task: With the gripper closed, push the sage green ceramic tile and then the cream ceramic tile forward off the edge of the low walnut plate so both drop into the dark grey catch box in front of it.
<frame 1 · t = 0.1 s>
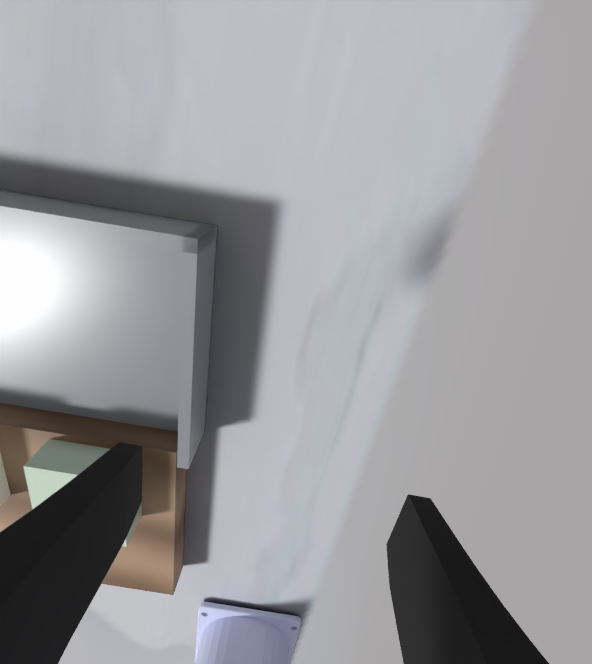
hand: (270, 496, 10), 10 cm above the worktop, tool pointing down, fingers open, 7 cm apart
walnut plate: (58, 484, 25), on the worktop
sage tile: (98, 479, 22), point 2 cm above the worktop, touching walnut plate
catch box: (30, 312, 20), on the worktop
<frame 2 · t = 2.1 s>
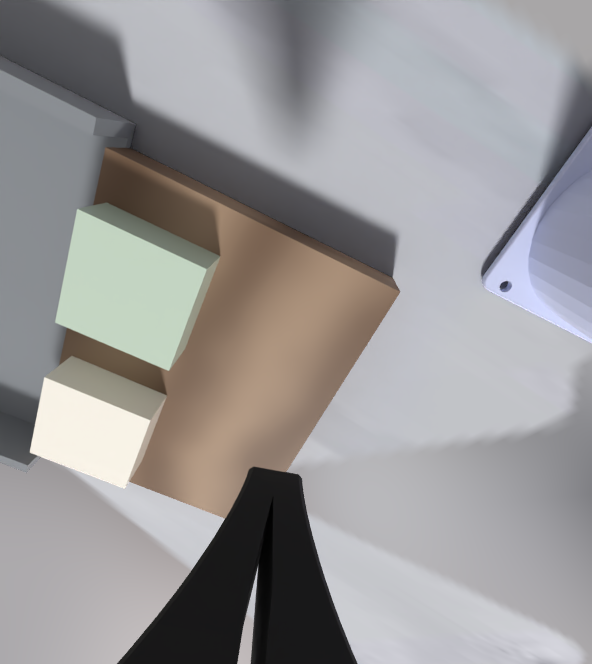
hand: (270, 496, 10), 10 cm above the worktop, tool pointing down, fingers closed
cream tile: (109, 411, 20), point 2 cm above the worktop, touching walnut plate
walnut plate: (206, 361, 21), on the worktop
sage tile: (148, 281, 17), point 2 cm above the worktop, touching walnut plate
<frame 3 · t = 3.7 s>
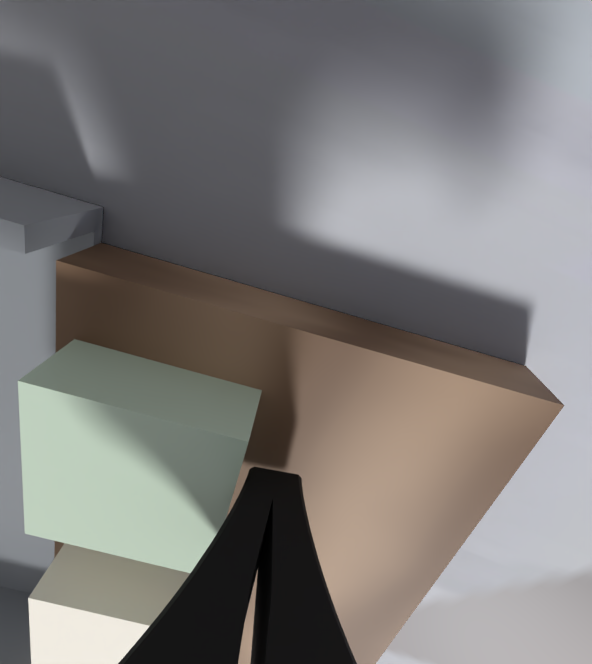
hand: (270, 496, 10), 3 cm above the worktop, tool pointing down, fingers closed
cream tile: (133, 594, 14), point 2 cm above the worktop, touching walnut plate
walnut plate: (255, 502, 15), on the worktop
sage tile: (158, 436, 11), point 2 cm above the worktop, touching gripper
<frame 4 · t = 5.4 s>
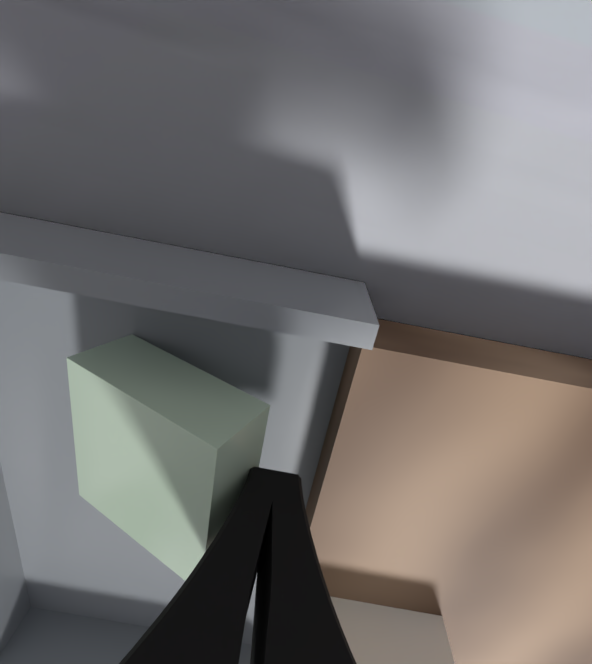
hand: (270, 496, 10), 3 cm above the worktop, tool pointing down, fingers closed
cream tile: (357, 641, 15), point 2 cm above the worktop, touching walnut plate
walnut plate: (465, 542, 15), on the worktop
sage tile: (189, 436, 11), point 2 cm above the worktop, tilted 26°, touching catch box, gripper
catch box: (149, 485, 15), on the worktop
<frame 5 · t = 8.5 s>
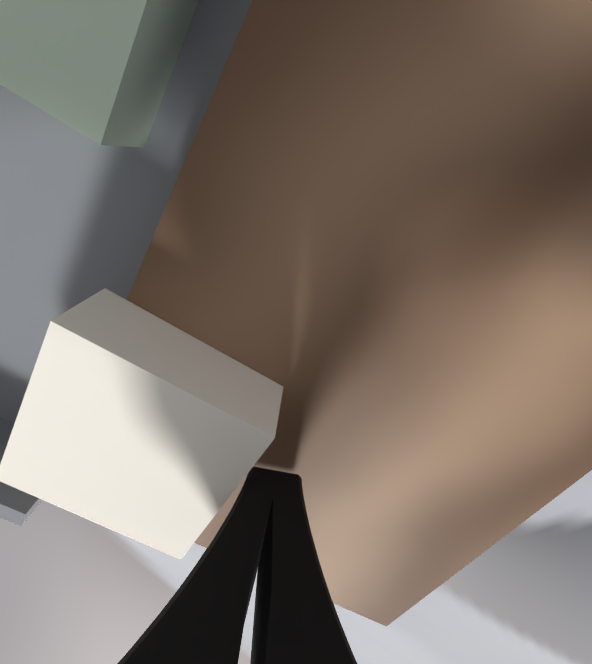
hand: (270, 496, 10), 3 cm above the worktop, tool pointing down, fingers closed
cream tile: (160, 407, 10), point 2 cm above the worktop, touching gripper
walnut plate: (370, 348, 12), on the worktop
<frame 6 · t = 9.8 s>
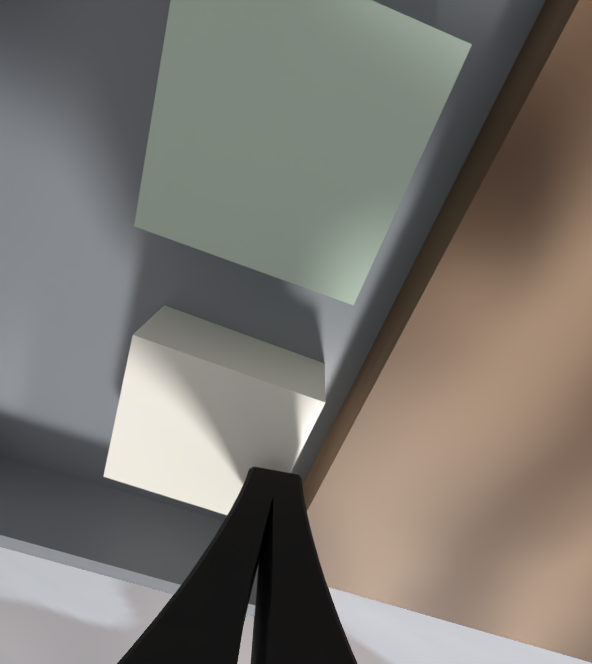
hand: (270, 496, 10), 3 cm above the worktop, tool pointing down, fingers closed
cream tile: (223, 399, 12), resting on catch box
walnut plate: (558, 408, 12), on the worktop
sage tile: (291, 148, 9), resting on catch box
catch box: (177, 274, 11), on the worktop
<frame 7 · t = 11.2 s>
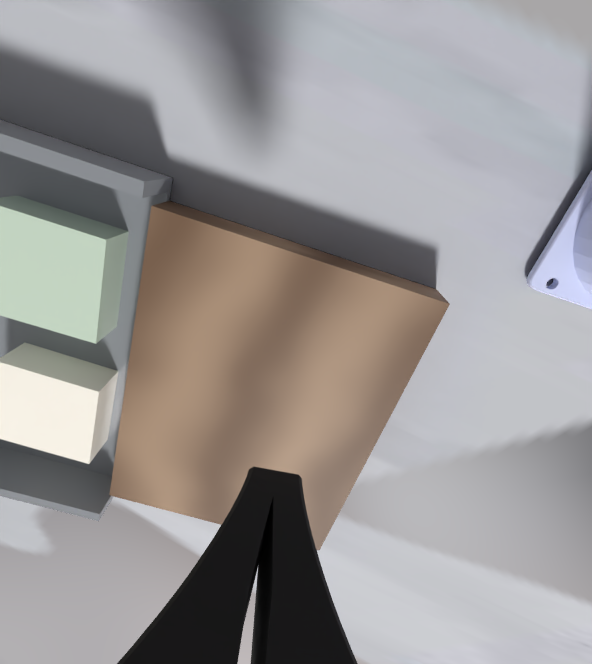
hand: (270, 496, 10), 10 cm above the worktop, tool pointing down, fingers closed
cream tile: (68, 393, 21), resting on catch box
walnut plate: (258, 392, 21), on the worktop
sage tile: (70, 265, 18), resting on catch box
catch box: (31, 325, 20), on the worktop
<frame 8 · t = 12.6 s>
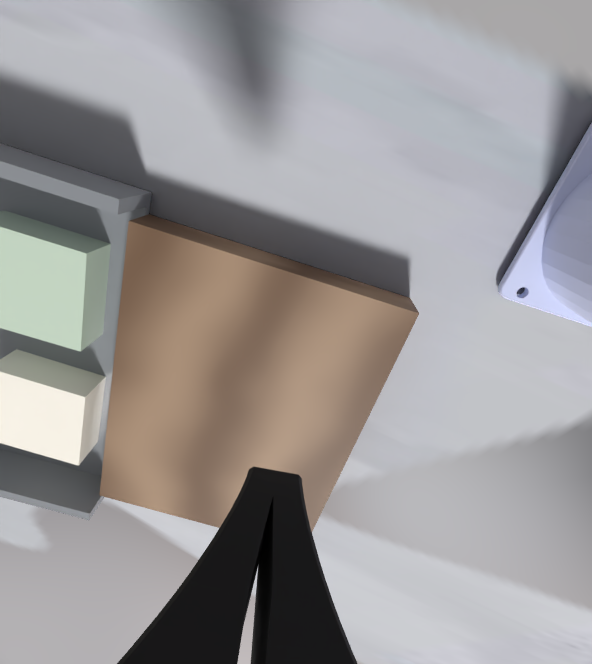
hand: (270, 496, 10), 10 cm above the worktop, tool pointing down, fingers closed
cream tile: (59, 397, 22), resting on catch box
walnut plate: (241, 396, 22), on the worktop
sage tile: (57, 276, 19), resting on catch box
catch box: (22, 332, 21), on the worktop
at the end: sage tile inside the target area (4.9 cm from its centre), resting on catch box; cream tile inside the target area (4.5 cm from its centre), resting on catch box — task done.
